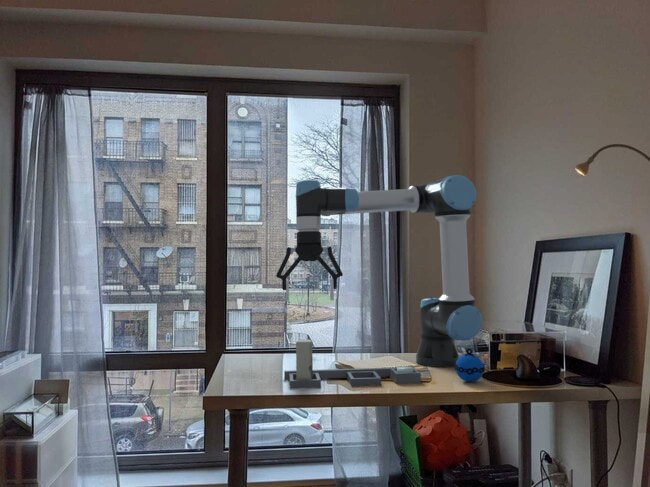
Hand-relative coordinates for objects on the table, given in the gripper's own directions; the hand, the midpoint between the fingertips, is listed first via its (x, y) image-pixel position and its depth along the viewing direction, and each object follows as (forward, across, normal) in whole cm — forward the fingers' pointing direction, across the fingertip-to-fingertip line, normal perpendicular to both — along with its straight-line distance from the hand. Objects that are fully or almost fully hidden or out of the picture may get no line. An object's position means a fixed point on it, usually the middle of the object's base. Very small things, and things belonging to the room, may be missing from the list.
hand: (309, 300), depth 148 cm
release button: (+24, -29, +1) cm, 38 cm away
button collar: (+25, -29, +1) cm, 38 cm away
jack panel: (+25, -11, 0) cm, 27 cm away
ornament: (+26, -48, +5) cm, 55 cm away
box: (+25, +2, +1) cm, 25 cm away
